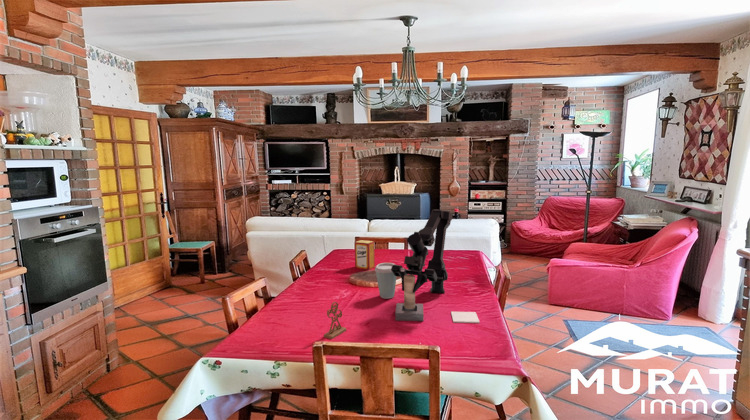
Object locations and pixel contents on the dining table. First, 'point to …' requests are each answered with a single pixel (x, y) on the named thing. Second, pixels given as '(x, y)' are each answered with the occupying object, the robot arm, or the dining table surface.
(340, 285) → the dining table surface
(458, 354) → the dining table surface
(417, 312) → the socket block
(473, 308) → the dining table surface
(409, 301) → the birch peg
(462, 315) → the white mat
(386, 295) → the disposable coffee cup
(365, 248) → the baking soda box
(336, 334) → the gingerbread man figurine
